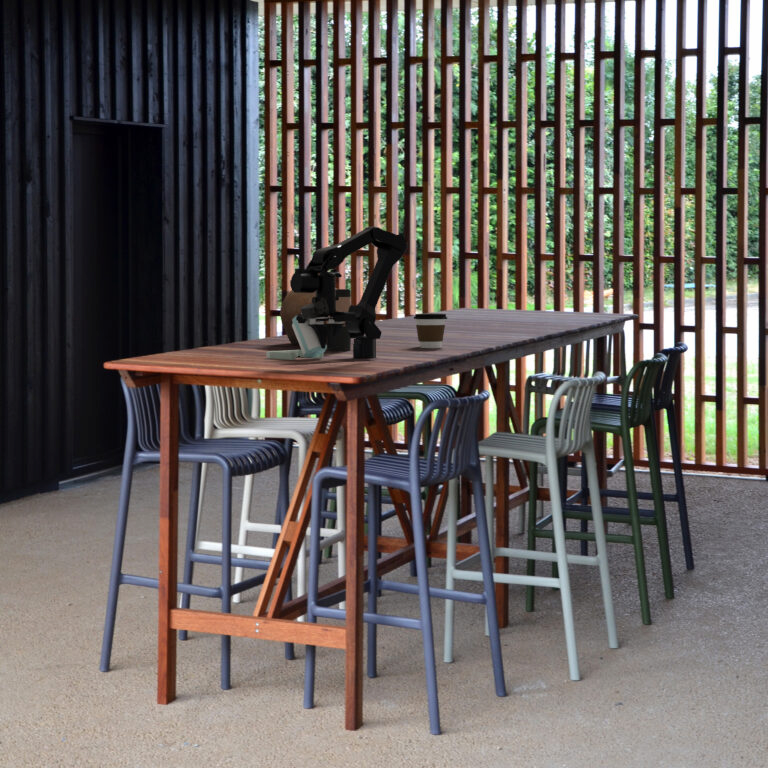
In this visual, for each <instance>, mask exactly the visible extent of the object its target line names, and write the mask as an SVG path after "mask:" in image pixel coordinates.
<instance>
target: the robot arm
mask: <svg viewBox="0 0 768 768" xmlns="http://www.w3.org/2000/svg"><path fill="white" fill-rule="evenodd" d="M370 244H371V245H372V246H373V247H375V248H376V258H377V261H376V262H375V266H374V267H373V270H372V273H371V275H370V277H369V278H368V281H367V284H366V287H365V288H364V291H363V293H362V295H361V298H360V300H359V302H357V304H355V305H354V304H351V306H350V307H349V310H348V312H339V311H336V301H337V300H339V297H336V279H339V278H342V276H343V275H342V274H341V273H340V272H339V271H338V270H337V269H336V268H338V267H339V266H340V265H341V264H342V263H343V262H344V261H345V259H346V258H347V257H349V256H350V255H351V254H354V253H355V252H357V251H359V250H361V249H363V248H365V247H366V246H368V245H370ZM407 249H408V242H407V239H406V237H405V236H404V235H402V234H396V233H393V232H390V231H387V230H384V229H383V228H381V227H378V226H366V227H365V228H363V230H361V231H359V232H357V233H355V234H353V235H352V236H350V237H348V238H346V239H344V240H342V241H340V242H339V243H336V244H333V245H329V246H325V247H322V248H319V249H316V250H315V251H313V253H312V257H311V259H310V261H308V262H309V263H308V264H307V265H306V267H305V268H300V267H299V268H298V267H297V268H294V273H292V276H291V278H290V281H289V285H290V290H292V291H293V292H295V293H314V292H315V293H316V297H313V298H312V303H310V304H308V305H306V306H304V307H302V308H300V310H301V313H302V314H298V315H297V317H296V320H297V321H298V323H305V321H306V318H309V319H310V324H308V326H311V327H312V328H313V329H314V330H315V332H316V335H317V337H318V340H319V343H320V345H321V348H322V349H325V347H326V341H327V342H328V348H329V349H330V348H332V346H333V344H334V342H335V340H336V337H337V335H338V333H339V331H340V330H341V328H342V326H343V325H346V329H347V330H348V333H349V337H350V338H351V339H353V344H352V359H360V360H374V359H375V360H376V361H377V340H380V339H381V336H382V331H381V329H380V328H379V327H378V326H377V324H375V323H376V319H377V315H376V307H377V305H378V303H379V300H380V297H381V295H382V293H383V291H384V288H385V286H386V283H387V282H388V279H389V276H390V274H391V272H392V270H393V267H394V266H395V265H396V264H397V263H398V262H399V261H400V260H401V259H402V257H403V256H404V255H405V253H406V252H407ZM318 274H319V275H318ZM322 316H324V317H322ZM328 316H330V317H328ZM323 321H328V323H329V324H324V322H323ZM343 322H345V324H343Z"/></svg>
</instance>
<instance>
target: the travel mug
mask: <svg viewBox="0 0 768 768" xmlns="http://www.w3.org/2000/svg"><path fill="white" fill-rule="evenodd" d="M351 291H352V290H351V289H350V288H347V289H346V288H337V289H336V297H339V300H337V301H336V311H339V312H348V310H349V307H350V306H351V305H352V297H351V296H352V294H351V293H352V292H351ZM328 317H330V316H328ZM327 324H329V323H328V321H327ZM343 324H345V322H343ZM351 342H352V338H350V337H349V333H348V330H347V329H346V325H343V326H342V328H341V330H340V331H339V333H338V335H337V337H336V340H335V342H334V344H333V346H332V348H330V349H329V348H328V342H327V348H326V350H327V351H328V352H339V351H341V352H350V351H351V348H352V347H351V346H352V345H351V344H352V343H351Z"/></svg>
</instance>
